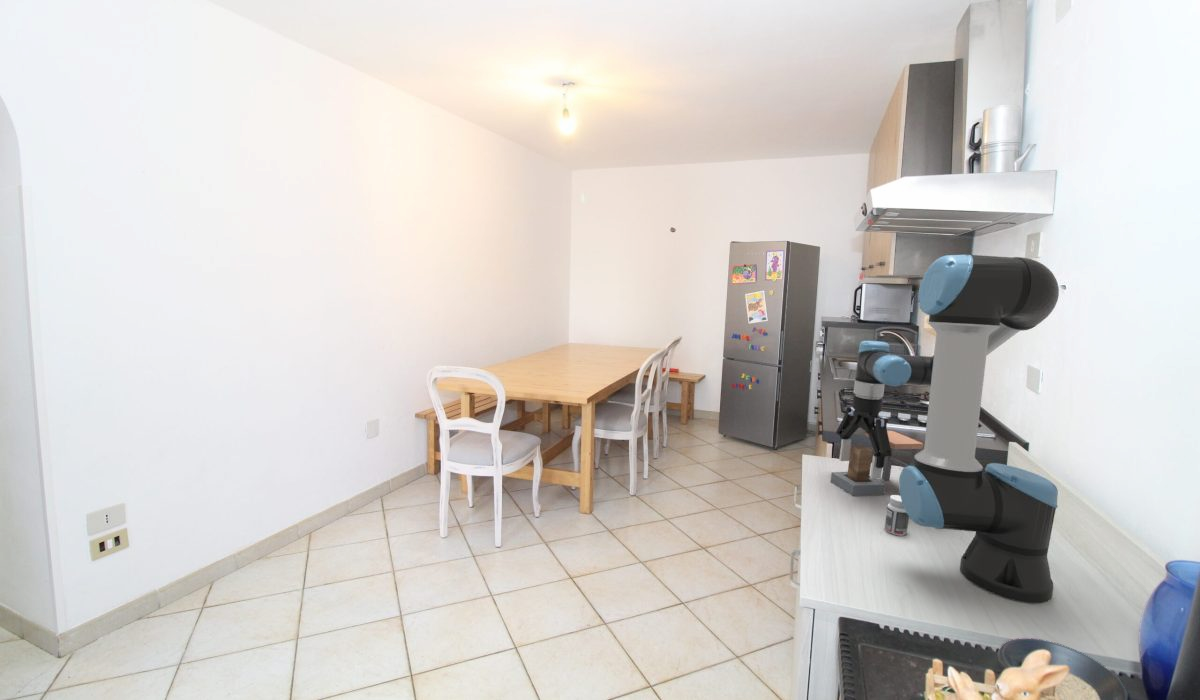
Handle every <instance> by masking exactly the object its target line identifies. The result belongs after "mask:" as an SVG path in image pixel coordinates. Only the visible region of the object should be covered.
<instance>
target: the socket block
mask: <svg viewBox="0 0 1200 700" xmlns="http://www.w3.org/2000/svg"><path fill="white" fill-rule="evenodd" d="M847 474H848V471H834V472H833V471H831V474H830V483H831V484H833V485H835V486H836V487H838V488H839V489H840V490H842V489H843V490H842V491H844V492H845V491H846V493H847V494H849V495H850V496H852V497H860V496H861V497H862V496H865V497H866V496H879V495H880V496H882V495H885V492H886V491H885V490H886V483H883V482H882V481H880V480H879V479H872V478H870V476H869V482H854V481H853V480H851V479H849V478H848V477H847Z"/></svg>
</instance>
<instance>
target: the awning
mask: <svg viewBox="0 0 1200 700" xmlns="http://www.w3.org/2000/svg"><path fill="white" fill-rule="evenodd" d="M887 433H888V438H889V443H890V448H891V453H892V455H891V456H886V457H885V459H884V466H883V468H882V473H881V480H882V481H884V482H889V481H890V478H891V472H892V464H895V465H898V466H900V467H901V468H904V467H908V466H913V464H914V456H915V455H916V454H917V453H919V452H920V451H922V450H923V449H924V443H923V442H921V441H918V440H916V439H914V438H910V437H909V436H907V435H903V434H901V433H898V432H897V431H894V430H887ZM865 437H867V438H869V435H868V433H866V432H865ZM894 450H911V454H910V463H905V461H904V462H903V461H902V460H899V459H897V458H895V457H893V456H894ZM886 452H887V451H886Z"/></svg>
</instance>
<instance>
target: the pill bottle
mask: <svg viewBox="0 0 1200 700" xmlns="http://www.w3.org/2000/svg"><path fill="white" fill-rule="evenodd" d="M886 507H887V508H886V515H885V522H884V529H885V531H886V532H888V533H890V534H891V535H895V536H898V537H899V536H900V537H901V536H905V535H907V534H908V528H909V520H910V517H909V516H908V514H907V512H906V511H905V508H904V506H903V503H902V500H901V496H900V495H899V494H891V495H890V496H889V503H888V504H887V506H886Z"/></svg>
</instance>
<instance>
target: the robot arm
mask: <svg viewBox="0 0 1200 700" xmlns="http://www.w3.org/2000/svg"><path fill="white" fill-rule="evenodd" d="M921 279H922V280H921V282H920V285H919V290H918V303H919V304H918V305H919V309H920V310H921V312H923V313H924V314H926V315H928V325H929V326H930V327H931V328H932V329H933V330H934V331H935V341H934V342H935V343H934V351H933V355H931V356H929V355H928V356H923V355H911V354H910V355H907V354H893V353H891V352H890V344H889V343H888V342H886V341H877V340H862V341H861V342H860V344H859V348H858V352H857V361H856V368H855V369H856V371H855V378H854V379H855V380H854V385H853V394H854V395H853V396H852V403H851V406H850V407H849V406H848V407H846V409H845V414H844V415H843V418H842V419H841V422H840V424H839V426H838V428H837V430H836V431H835V432H836V435H839V438H840V444H839V449H840V451H839V457H838V458H839V459H838V460H839V461H840V462H849V458H850V449H851V446H852V435H854V433H856V432H857V431H858V429H860V428H861V429H862V430H863V431H865V434H866V433H868V435H869V437H868V438H869V440H870V443H871V445H872V449H873V451H874V454H872V460H871V468H870V478H872V479H877V480H879V479H882V472H883V466H884V459H885V457H886V456H891V455H892V453H891V448H890V443H889V438H888V433H887V431H888V429H887V425H888V424H887V423H888V421H887V419H885V418H879V414H880V413H881V412H882V411H883V410H882V409H883V402H884V400H883V397H884V395H885V394H884V393H885V385H887V386H891V387H900V386H901V385H902V386H903V385H909V386H928V387H930V388H929V389H930V390H929V397H928V407H927V418H926V428H925V436H924V443H923V449H921V451H920V452H919V453H917V454H916V455H915V456H914V464H913V466H908V467H902V470H901V472H900V474H899V480H898V486H899V487H898V489H899V494H900V495H899V496H901V500H902V503H903V506H904V508H905V511H906V512H907V514H908V516H909V519H911V521H912V522H914V524H916V525H919V526H922V527H927V528H933V529H936V530H955V531H963V532H964V531H965V532H966V531H967V532H975V534H974V537H973V538H972V540H971V542H970V543H969V545H968V547H967V548H966V550H965V552H964V553H963V554H962V556H961V559H960V563H959V564H960V565H959V571H960V573H961V575H963V577H964V578H966V580H968V581H969V582H971V583H972V584H973V585H975V586H977V587H978V588H981V589H982V590H984V591H986V592H988V593H991V594H993V595H996V596H999V597H1001V598H1004V599H1009V600H1012V601H1015V602H1022V603H1028V604H1041V603H1046V602H1049V601H1050V600H1051V599H1052V598H1053V591H1054V583H1053V579H1052V576H1051V570H1050V569H1051V568H1050V564H1049V560H1048V553H1049V547H1050V542H1051V536H1052V531H1053V526H1054V525H1053V524H1054V519H1055V514H1056V510H1057V508H1058V506H1059V505H1058V498H1059V497H1058V495H1059V493H1058V492H1059V490H1058V488H1057V486H1056V485H1055V484H1054V483H1053V481H1051V480H1049V479H1047V478H1045V477H1044V476H1041V475H1039V474H1037V473H1034V472H1031V471H1028V470H1026V469H1022V468H1019V467H1016V466H1011V465H1008V464H1003V463H997V462H991V463H988V464H987V465H986V467H985V468H984V467H983V465H982V464H981V463H980V462H979V460H977V459H976V451H977V450H976V449H977V448H976V447H977V440H978V431H979V422H980V414H981V405H982V398H983V390H984V389H983V387H984V379H985V369H986V363H987V361H986V360H987V356H988V355H990V354H991V353H992V352H993V351H995V350H996V349H999V348H1000V347H1001V346H1002V345H1003V344H1005V343H1006V342H1007V341H1008V340H1010V339H1011V338H1012V337H1014V336H1015V335H1017V334H1018V333H1019V332H1021V331H1028V330H1032V329H1034V328H1035V327H1037V326H1038V325H1039V324H1041V323H1042V322H1044V320H1046V318H1048V316H1049V315H1051V313H1052V312H1053V311H1054V309H1055V308H1056V305H1057V302H1058V301H1059V300H1058V299H1059V297H1060V296H1059V295H1060V289H1059V288H1060V287H1059V283H1058V281H1057V278H1056V277H1055V274H1054V273H1053V271H1051V270H1050V269H1049V268H1048V267H1047V266H1046V265H1044V264H1043V263H1041V262H1039V261H1038V260H1035V259H1032V258H1028V257H1020V256H1012V257H1009V256H998V255H997V256H995V255H983V254H982V255H981V254H980V255H978V254H977V255H976V254H952V255H951V254H949V255H943V256H940V257H939V258H937V259H935V261H933V262H932V263H931V264H930V265H929V267H928V269H927V270H926V271H925V273H924V275H923V277H922V278H921ZM886 451H887V452H886ZM983 471H985V472H983Z"/></svg>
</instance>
